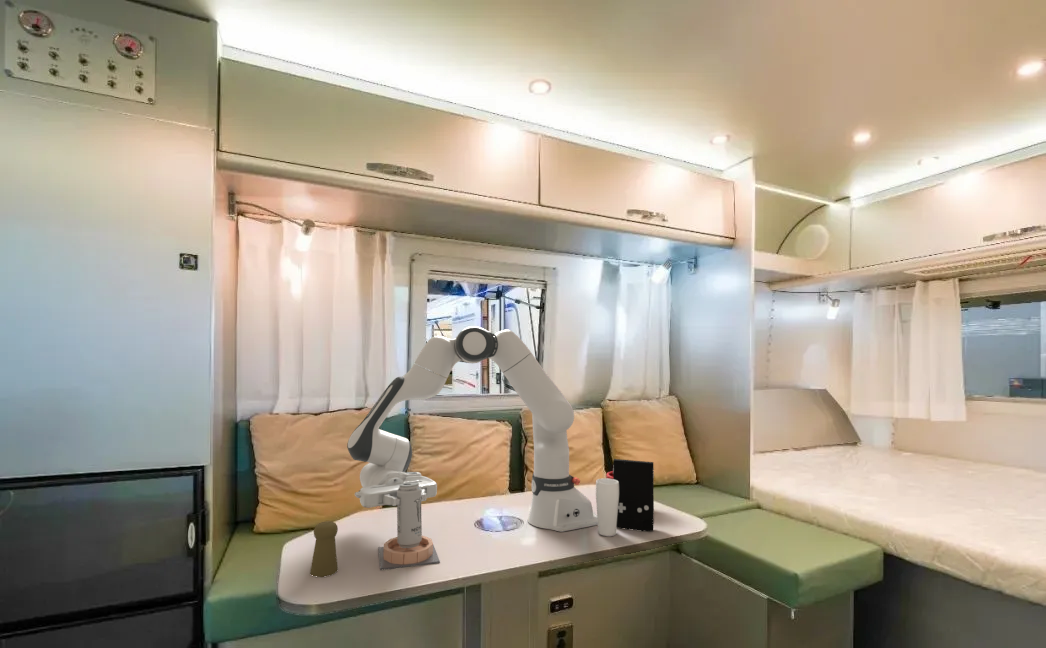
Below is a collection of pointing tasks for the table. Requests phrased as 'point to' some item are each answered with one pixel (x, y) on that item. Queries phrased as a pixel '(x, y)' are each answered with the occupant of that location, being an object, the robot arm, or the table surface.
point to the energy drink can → (409, 515)
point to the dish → (407, 554)
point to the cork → (324, 550)
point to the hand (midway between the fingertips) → (410, 500)
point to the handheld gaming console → (635, 494)
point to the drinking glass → (607, 505)
